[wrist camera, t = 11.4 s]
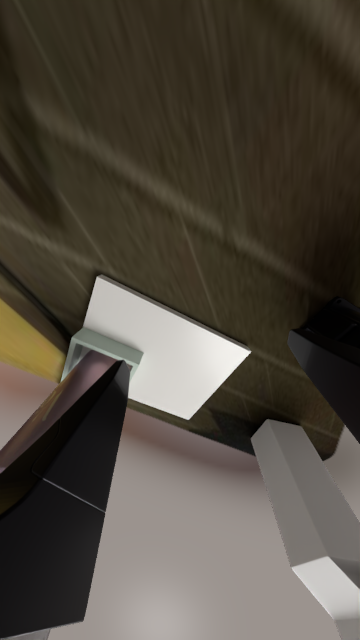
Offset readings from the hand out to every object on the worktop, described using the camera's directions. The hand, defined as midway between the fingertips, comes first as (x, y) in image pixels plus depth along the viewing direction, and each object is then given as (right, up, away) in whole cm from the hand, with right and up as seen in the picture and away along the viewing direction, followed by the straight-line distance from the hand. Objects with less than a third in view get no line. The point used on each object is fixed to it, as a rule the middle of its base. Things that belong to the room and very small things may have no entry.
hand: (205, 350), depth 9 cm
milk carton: (+18, -21, +24) cm, 36 cm away
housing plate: (-5, -5, +17) cm, 18 cm away
